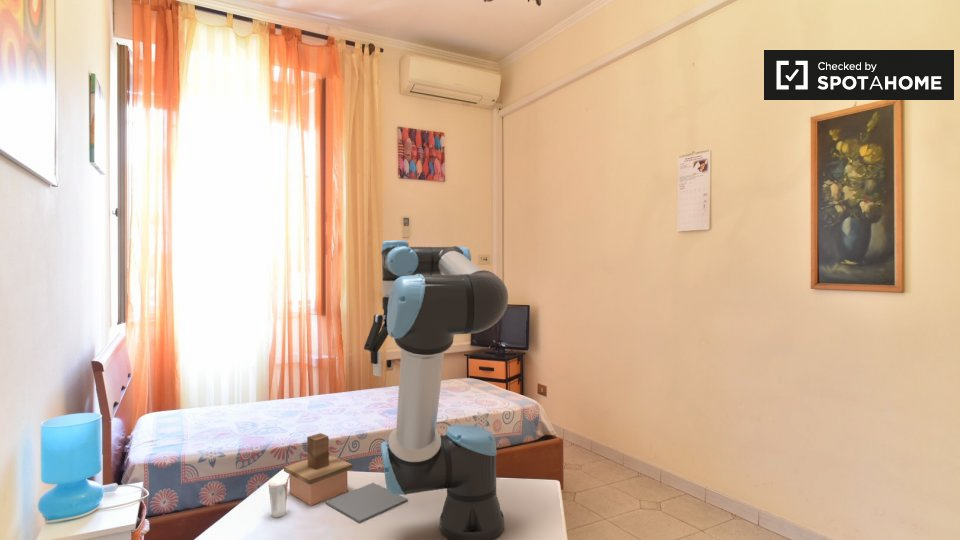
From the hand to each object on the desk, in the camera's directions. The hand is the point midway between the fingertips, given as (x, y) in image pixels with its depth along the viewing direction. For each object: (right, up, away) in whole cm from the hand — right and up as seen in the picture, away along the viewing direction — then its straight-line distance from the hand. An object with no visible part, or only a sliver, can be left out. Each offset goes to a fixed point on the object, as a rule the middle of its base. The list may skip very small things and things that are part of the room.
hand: (396, 371), depth 147 cm
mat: (-6, -32, -11) cm, 34 cm away
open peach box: (-21, -32, -4) cm, 38 cm away
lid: (-21, -26, -5) cm, 34 cm away
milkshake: (-26, -33, -17) cm, 45 cm away
